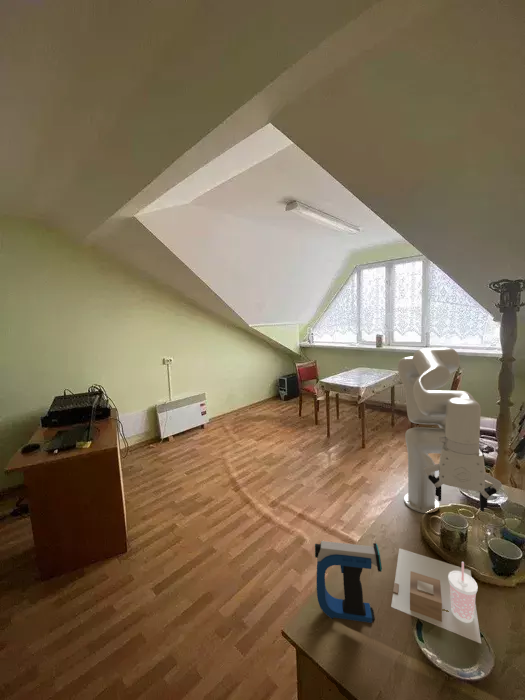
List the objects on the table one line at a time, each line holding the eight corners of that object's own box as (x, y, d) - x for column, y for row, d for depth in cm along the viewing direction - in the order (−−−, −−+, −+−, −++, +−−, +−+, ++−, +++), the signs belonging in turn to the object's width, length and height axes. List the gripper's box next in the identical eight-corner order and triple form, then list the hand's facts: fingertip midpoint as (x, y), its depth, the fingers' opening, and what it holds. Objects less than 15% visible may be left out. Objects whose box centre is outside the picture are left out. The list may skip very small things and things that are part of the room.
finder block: (410, 587, 81) (410, 570, 81) (440, 597, 78) (440, 579, 78) (409, 609, 75) (409, 591, 75) (441, 621, 72) (441, 602, 71)
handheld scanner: (383, 630, 72) (382, 555, 70) (317, 620, 75) (314, 548, 74) (380, 612, 76) (378, 541, 75) (317, 603, 80) (314, 535, 78)
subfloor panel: (390, 548, 97) (390, 544, 96) (481, 577, 85) (481, 572, 84) (380, 606, 78) (380, 601, 78) (495, 654, 66) (495, 647, 66)
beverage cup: (444, 599, 77) (444, 550, 76) (471, 604, 76) (472, 554, 74) (452, 622, 72) (452, 570, 70) (481, 628, 70) (482, 575, 68)
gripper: (424, 444, 79) (423, 502, 82) (506, 457, 71) (502, 522, 73) (425, 433, 86) (424, 487, 88) (500, 444, 77) (497, 504, 79)
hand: (459, 503), depth 81 cm, fingers open, 9 cm apart
